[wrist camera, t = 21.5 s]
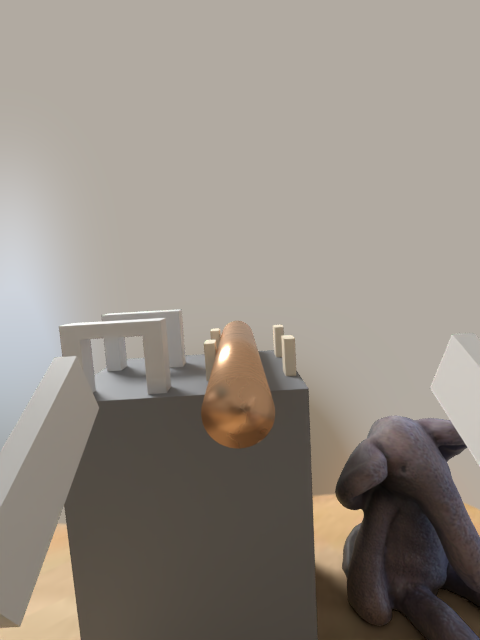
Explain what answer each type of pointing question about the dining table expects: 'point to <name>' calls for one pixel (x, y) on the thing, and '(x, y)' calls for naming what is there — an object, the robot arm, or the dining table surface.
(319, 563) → the dining table surface
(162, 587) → the grey pedestal with pegs
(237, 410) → the copper tube
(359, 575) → the elephant
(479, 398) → the robot arm
